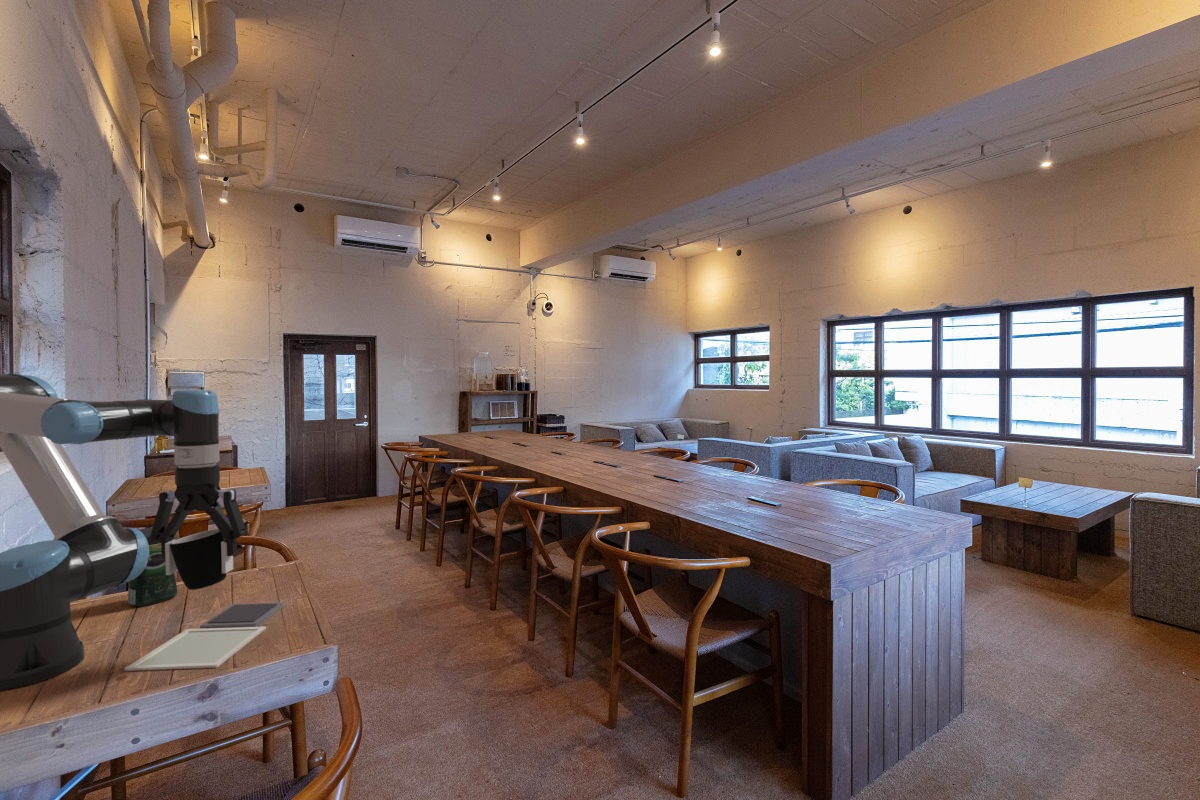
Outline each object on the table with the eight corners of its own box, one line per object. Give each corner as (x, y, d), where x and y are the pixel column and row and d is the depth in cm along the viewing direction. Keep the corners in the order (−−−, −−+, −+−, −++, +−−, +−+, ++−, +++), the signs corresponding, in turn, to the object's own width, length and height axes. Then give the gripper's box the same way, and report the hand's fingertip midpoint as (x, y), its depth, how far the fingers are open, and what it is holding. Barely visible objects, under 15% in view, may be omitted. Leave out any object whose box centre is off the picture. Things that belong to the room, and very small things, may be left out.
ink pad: (200, 629, 123) (200, 624, 123) (233, 608, 135) (233, 603, 135) (255, 628, 124) (255, 622, 124) (283, 606, 136) (283, 601, 136)
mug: (242, 574, 117) (231, 528, 116) (195, 593, 109) (183, 543, 108) (210, 574, 122) (200, 529, 122) (164, 592, 114) (153, 544, 114)
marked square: (124, 670, 106) (124, 668, 106) (186, 631, 123) (186, 629, 123) (217, 667, 106) (216, 665, 106) (266, 628, 123) (266, 626, 123)
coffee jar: (170, 591, 147) (168, 521, 147) (181, 597, 142) (178, 525, 142) (123, 602, 140) (121, 529, 139) (132, 610, 135) (130, 534, 134)
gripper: (124, 468, 110) (127, 580, 110) (245, 467, 112) (247, 576, 112) (152, 463, 117) (154, 567, 118) (264, 461, 119) (266, 564, 120)
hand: (200, 572), depth 115 cm, fingers closed on mug, 10 cm apart
